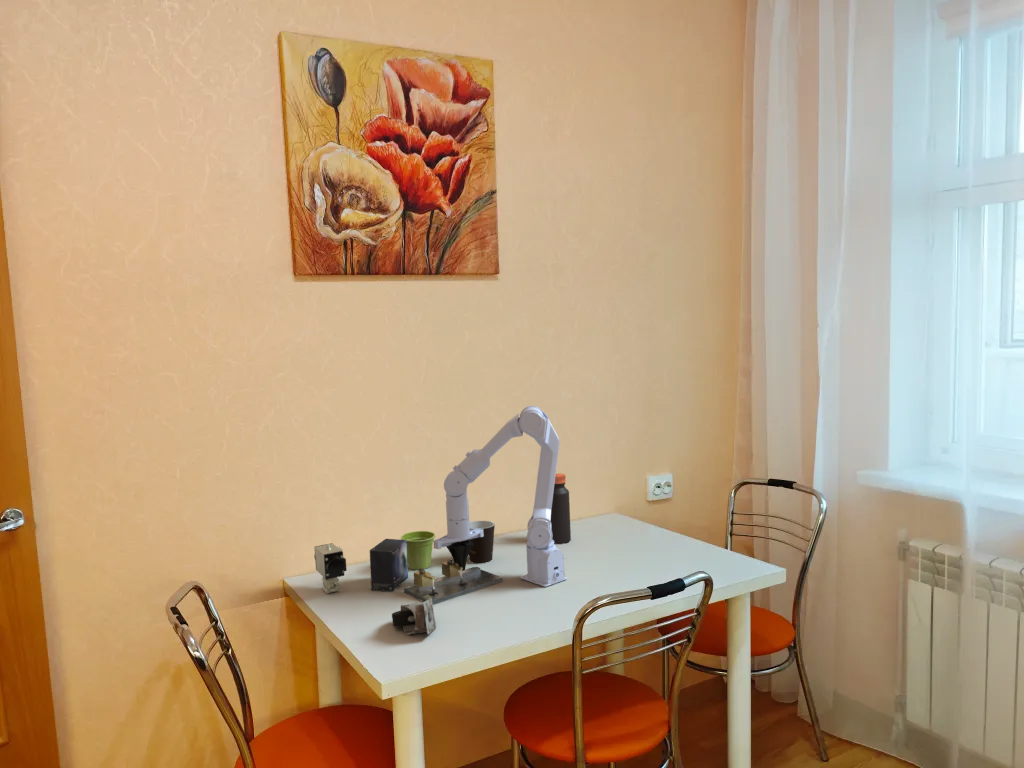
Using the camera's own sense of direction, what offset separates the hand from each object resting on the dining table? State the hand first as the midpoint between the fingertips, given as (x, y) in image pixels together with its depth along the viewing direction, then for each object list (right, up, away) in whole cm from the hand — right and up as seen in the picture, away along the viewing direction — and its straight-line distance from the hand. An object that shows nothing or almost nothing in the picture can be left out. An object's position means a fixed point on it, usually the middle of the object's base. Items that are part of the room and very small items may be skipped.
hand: (460, 569), depth 191 cm
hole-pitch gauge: (-1, -3, -4) cm, 5 cm away
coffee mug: (+5, -2, +19) cm, 19 cm away
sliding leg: (-1, -2, -3) cm, 4 cm away
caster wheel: (-8, -6, -28) cm, 30 cm away
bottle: (+27, +1, +32) cm, 42 cm away
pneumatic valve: (-32, -5, -2) cm, 33 cm away
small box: (-18, -4, 0) cm, 19 cm away
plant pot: (-12, -3, +13) cm, 18 cm away
